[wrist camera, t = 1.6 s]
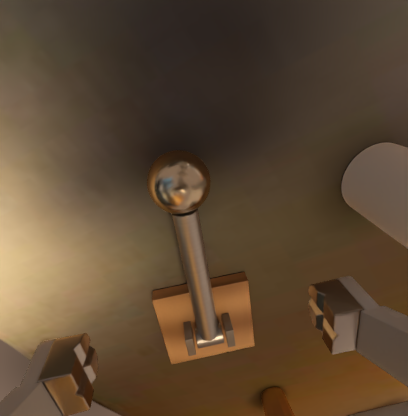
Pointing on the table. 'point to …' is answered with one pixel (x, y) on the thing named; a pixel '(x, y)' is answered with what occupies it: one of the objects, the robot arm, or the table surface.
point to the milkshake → (276, 402)
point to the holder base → (185, 321)
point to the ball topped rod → (188, 231)
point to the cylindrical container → (380, 188)
